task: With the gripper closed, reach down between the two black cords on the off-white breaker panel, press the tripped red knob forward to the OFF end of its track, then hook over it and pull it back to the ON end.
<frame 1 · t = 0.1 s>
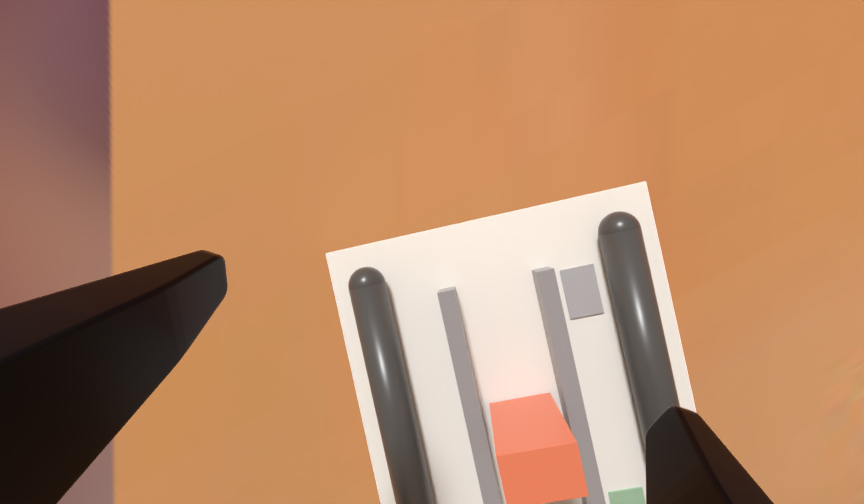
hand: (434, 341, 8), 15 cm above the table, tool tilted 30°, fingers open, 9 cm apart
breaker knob: (531, 442, 17), point 5 cm above the table, slide at 0.0 cm
breaker panel: (517, 397, 23), on the table
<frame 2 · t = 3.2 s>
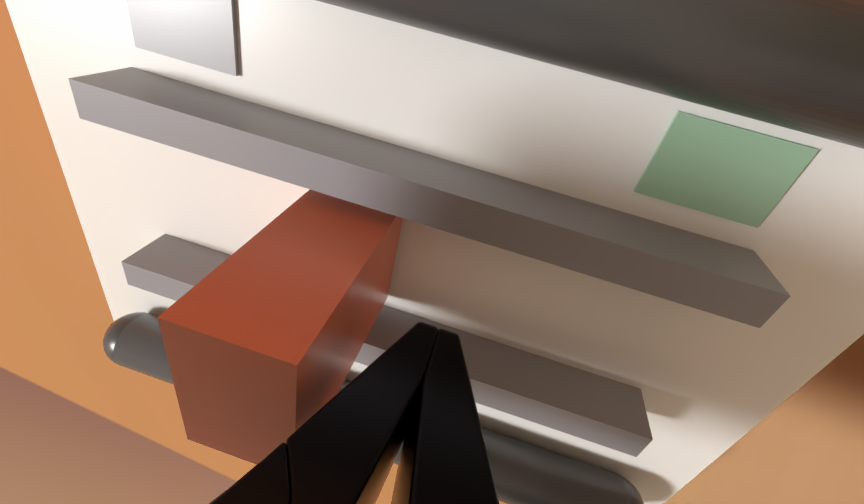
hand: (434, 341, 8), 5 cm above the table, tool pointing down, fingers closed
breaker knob: (311, 303, 8), point 5 cm above the table, slide at 1.2 cm, touching gripper
breaker panel: (427, 209, 12), on the table
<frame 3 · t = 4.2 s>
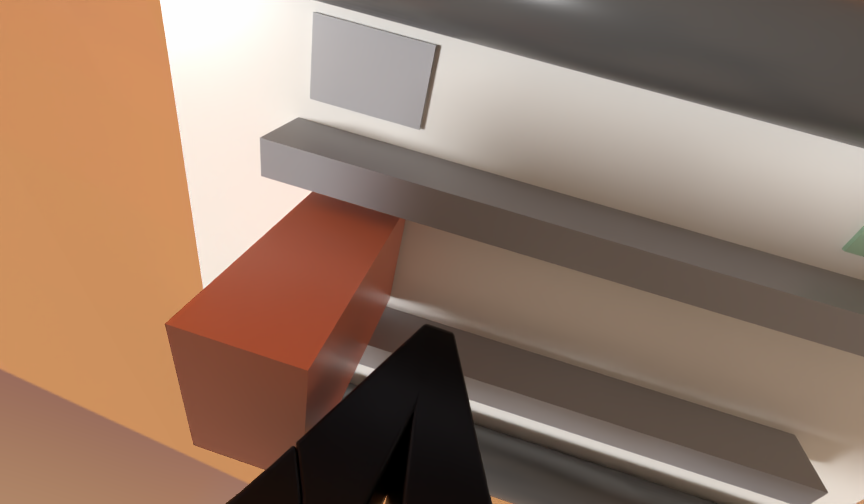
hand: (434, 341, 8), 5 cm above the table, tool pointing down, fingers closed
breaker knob: (316, 306, 8), point 5 cm above the table, slide at 5.2 cm, touching gripper
breaker panel: (558, 249, 12), on the table
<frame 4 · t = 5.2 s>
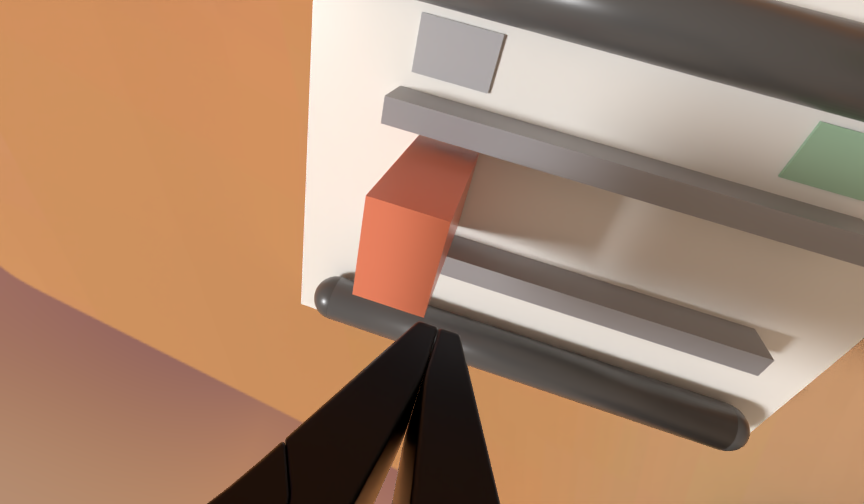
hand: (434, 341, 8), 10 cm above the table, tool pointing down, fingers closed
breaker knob: (422, 215, 12), point 5 cm above the table, slide at 5.0 cm
breaker panel: (578, 194, 16), on the table
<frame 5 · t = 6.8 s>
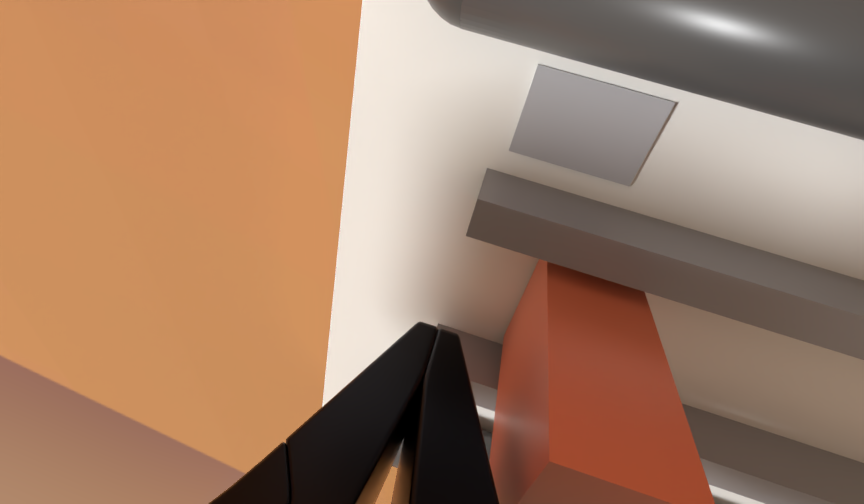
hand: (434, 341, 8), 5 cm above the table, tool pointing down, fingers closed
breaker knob: (569, 392, 8), point 5 cm above the table, slide at 4.3 cm, touching gripper
breaker panel: (707, 294, 11), on the table
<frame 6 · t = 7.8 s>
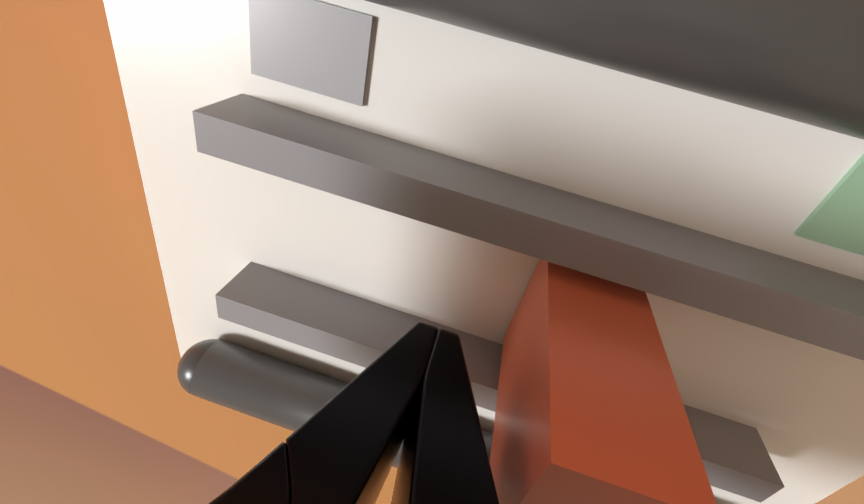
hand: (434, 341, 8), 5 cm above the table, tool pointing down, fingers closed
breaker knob: (570, 392, 8), point 5 cm above the table, slide at -1.2 cm, touching gripper
breaker panel: (521, 236, 12), on the table
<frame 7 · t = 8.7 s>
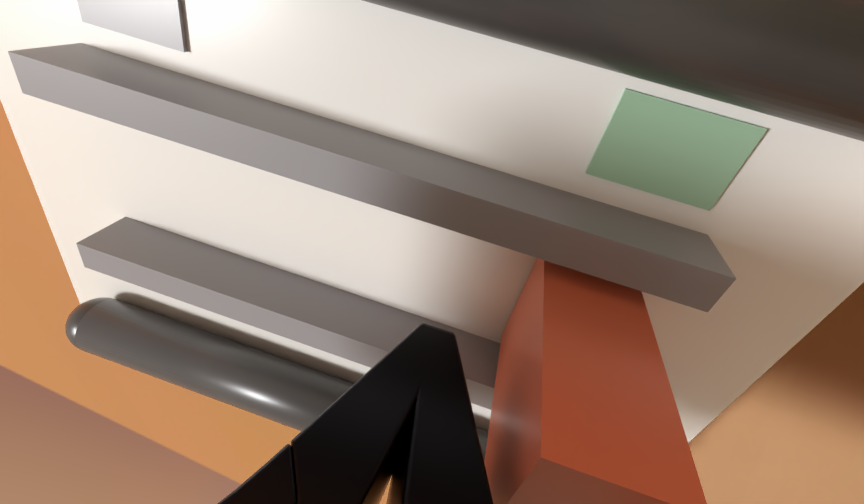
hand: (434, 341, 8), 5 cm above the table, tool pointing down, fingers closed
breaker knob: (565, 390, 8), point 5 cm above the table, slide at -5.1 cm, touching gripper
breaker panel: (392, 195, 12), on the table
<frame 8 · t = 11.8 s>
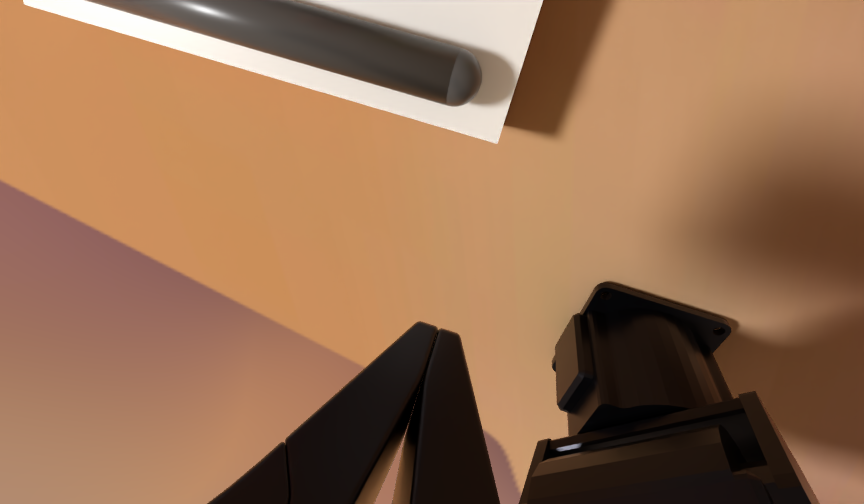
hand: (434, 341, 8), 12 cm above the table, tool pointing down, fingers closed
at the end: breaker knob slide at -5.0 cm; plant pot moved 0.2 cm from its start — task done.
